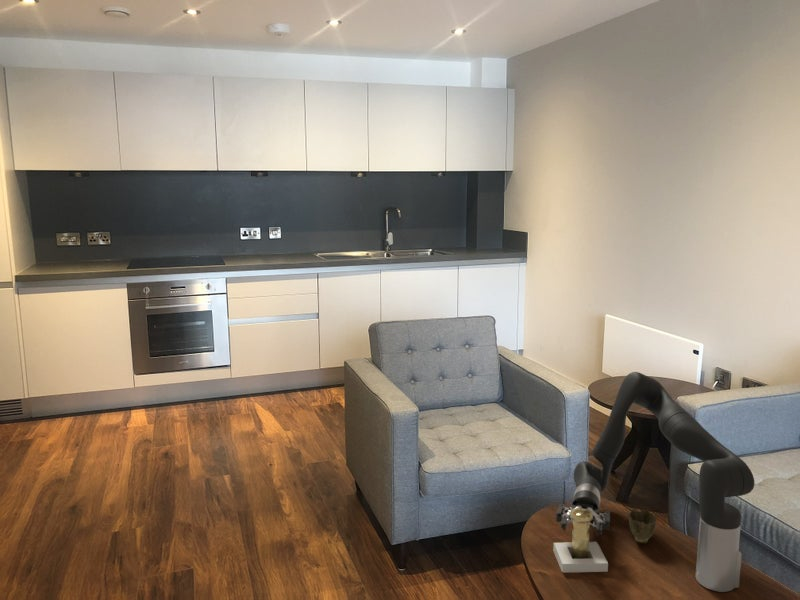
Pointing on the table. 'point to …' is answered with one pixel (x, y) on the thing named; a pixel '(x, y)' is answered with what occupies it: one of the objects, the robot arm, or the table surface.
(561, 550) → the frame
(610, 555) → the table surface
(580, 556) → the gold flanged cylinder
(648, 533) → the cup
